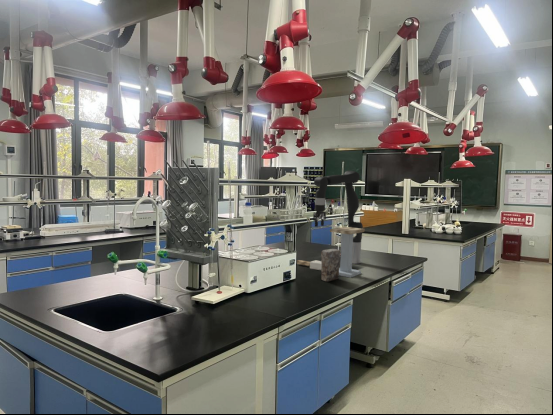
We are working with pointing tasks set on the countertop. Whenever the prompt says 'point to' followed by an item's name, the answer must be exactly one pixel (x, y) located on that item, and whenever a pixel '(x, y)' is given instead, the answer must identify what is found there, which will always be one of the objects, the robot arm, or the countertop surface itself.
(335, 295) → the countertop surface
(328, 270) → the stone block
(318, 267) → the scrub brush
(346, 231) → the shelf stand
